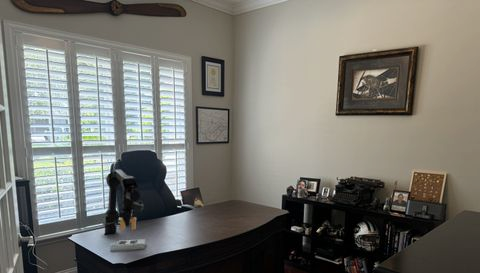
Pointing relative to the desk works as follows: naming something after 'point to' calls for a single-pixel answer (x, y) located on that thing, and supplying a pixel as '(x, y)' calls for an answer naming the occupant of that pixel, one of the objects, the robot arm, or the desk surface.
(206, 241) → the desk surface
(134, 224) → the clip
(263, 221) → the desk surface
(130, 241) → the rail
